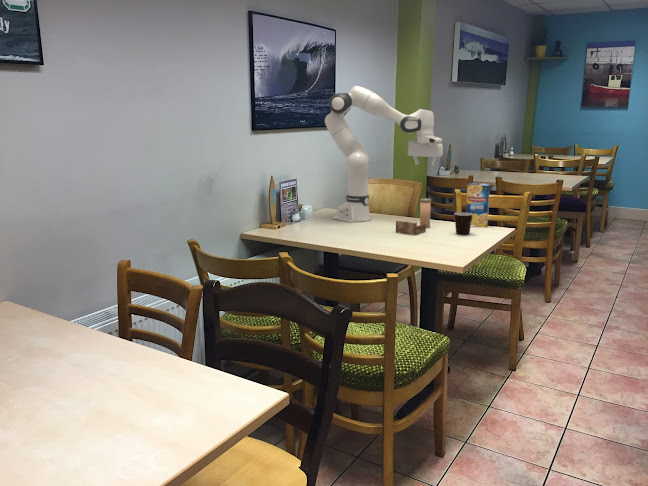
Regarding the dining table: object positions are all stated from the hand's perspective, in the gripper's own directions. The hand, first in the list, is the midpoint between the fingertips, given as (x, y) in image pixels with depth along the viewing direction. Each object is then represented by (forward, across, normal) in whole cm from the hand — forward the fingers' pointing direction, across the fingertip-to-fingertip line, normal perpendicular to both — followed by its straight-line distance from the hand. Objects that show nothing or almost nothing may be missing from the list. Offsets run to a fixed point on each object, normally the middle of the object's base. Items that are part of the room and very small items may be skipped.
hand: (424, 164), depth 297 cm
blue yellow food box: (+31, +30, +4) cm, 44 cm away
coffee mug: (+31, +33, -21) cm, 50 cm away
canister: (+31, +10, -16) cm, 36 cm away
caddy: (+31, +10, -30) cm, 44 cm away
